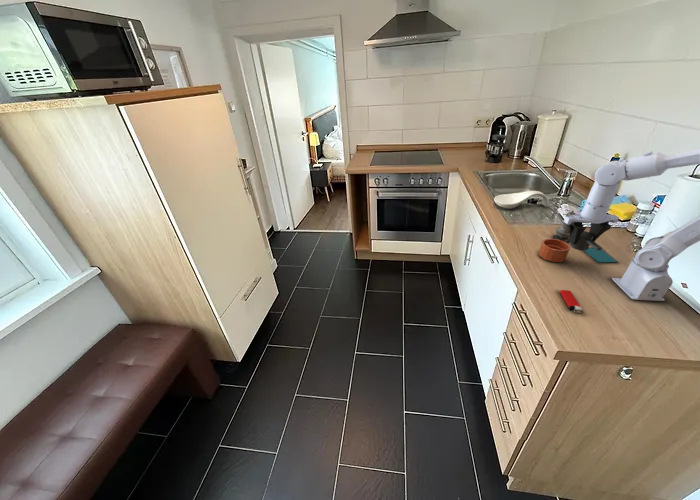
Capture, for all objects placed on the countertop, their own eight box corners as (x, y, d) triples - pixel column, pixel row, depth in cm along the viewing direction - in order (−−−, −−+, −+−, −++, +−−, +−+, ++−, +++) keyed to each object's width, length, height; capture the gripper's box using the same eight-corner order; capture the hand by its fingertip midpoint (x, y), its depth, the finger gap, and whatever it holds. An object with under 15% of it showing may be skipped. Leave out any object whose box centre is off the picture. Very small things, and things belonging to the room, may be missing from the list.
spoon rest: (497, 211, 133) (501, 197, 129) (489, 201, 143) (492, 188, 139) (551, 210, 130) (557, 196, 127) (539, 200, 140) (543, 186, 137)
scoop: (566, 243, 95) (571, 230, 92) (581, 242, 94) (587, 230, 92) (586, 259, 86) (592, 246, 84) (603, 259, 86) (609, 245, 84)
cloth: (598, 263, 96) (598, 262, 96) (581, 248, 103) (581, 247, 103) (617, 262, 96) (617, 261, 95) (598, 248, 103) (598, 247, 103)
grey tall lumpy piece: (554, 233, 113) (564, 205, 107) (572, 237, 110) (583, 209, 104) (551, 239, 110) (562, 211, 103) (569, 244, 106) (582, 214, 100)
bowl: (569, 263, 96) (575, 251, 94) (543, 262, 98) (548, 250, 95) (558, 250, 103) (563, 239, 100) (534, 250, 104) (538, 238, 102)
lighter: (571, 290, 83) (583, 310, 77) (570, 294, 84) (582, 313, 77) (560, 289, 84) (571, 308, 77) (559, 293, 85) (570, 312, 78)
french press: (498, 159, 204) (506, 124, 192) (505, 162, 196) (513, 126, 184) (482, 160, 204) (488, 125, 192) (488, 163, 196) (495, 127, 184)
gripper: (613, 197, 87) (595, 235, 95) (564, 199, 88) (550, 237, 95) (632, 206, 81) (611, 247, 89) (579, 208, 82) (563, 248, 89)
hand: (580, 242), depth 92 cm, fingers closed on scoop, 5 cm apart
